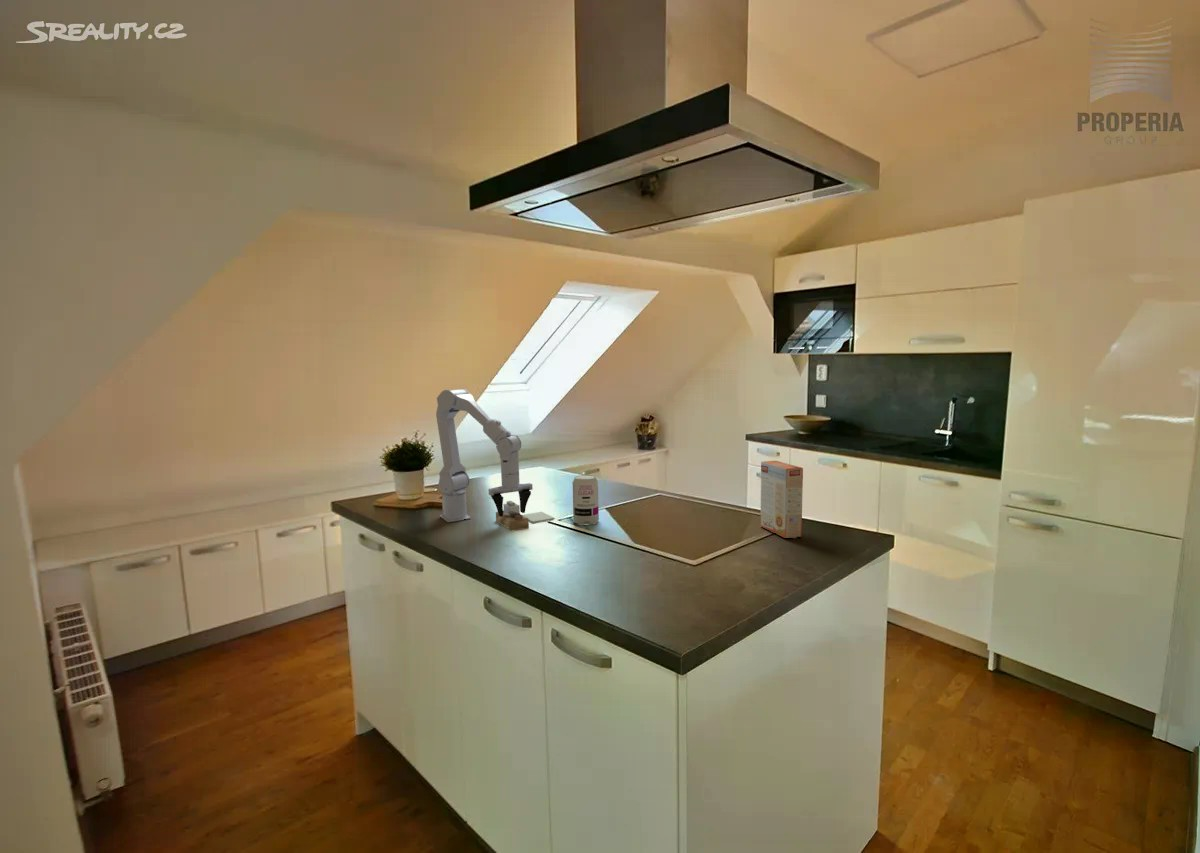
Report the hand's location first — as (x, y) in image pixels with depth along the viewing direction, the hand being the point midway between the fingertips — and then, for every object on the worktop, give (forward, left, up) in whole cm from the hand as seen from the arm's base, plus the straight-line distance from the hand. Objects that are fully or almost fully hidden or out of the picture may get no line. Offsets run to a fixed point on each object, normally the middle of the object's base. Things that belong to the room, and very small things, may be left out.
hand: (511, 514), depth 188 cm
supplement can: (+12, +21, -4) cm, 24 cm away
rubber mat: (-2, +10, -3) cm, 11 cm away
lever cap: (0, 0, 0) cm, 0 cm away
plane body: (0, 0, -3) cm, 3 cm away
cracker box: (+56, +63, -4) cm, 84 cm away
